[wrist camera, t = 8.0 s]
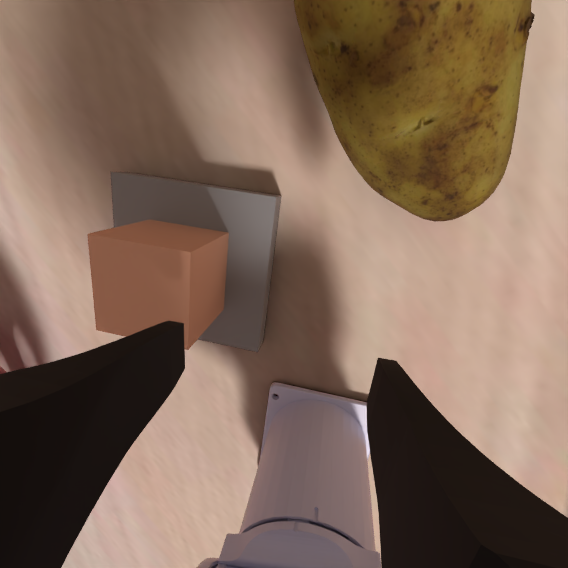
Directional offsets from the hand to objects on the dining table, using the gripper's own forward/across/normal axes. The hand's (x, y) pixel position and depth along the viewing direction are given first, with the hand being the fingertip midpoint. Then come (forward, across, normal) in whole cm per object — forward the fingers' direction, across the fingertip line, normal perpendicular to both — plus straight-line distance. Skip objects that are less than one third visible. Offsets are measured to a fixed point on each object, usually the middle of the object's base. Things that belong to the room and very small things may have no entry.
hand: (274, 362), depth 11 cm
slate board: (+9, +7, 0) cm, 12 cm away
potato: (+10, -3, -11) cm, 15 cm away
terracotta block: (+8, +7, 0) cm, 11 cm away
